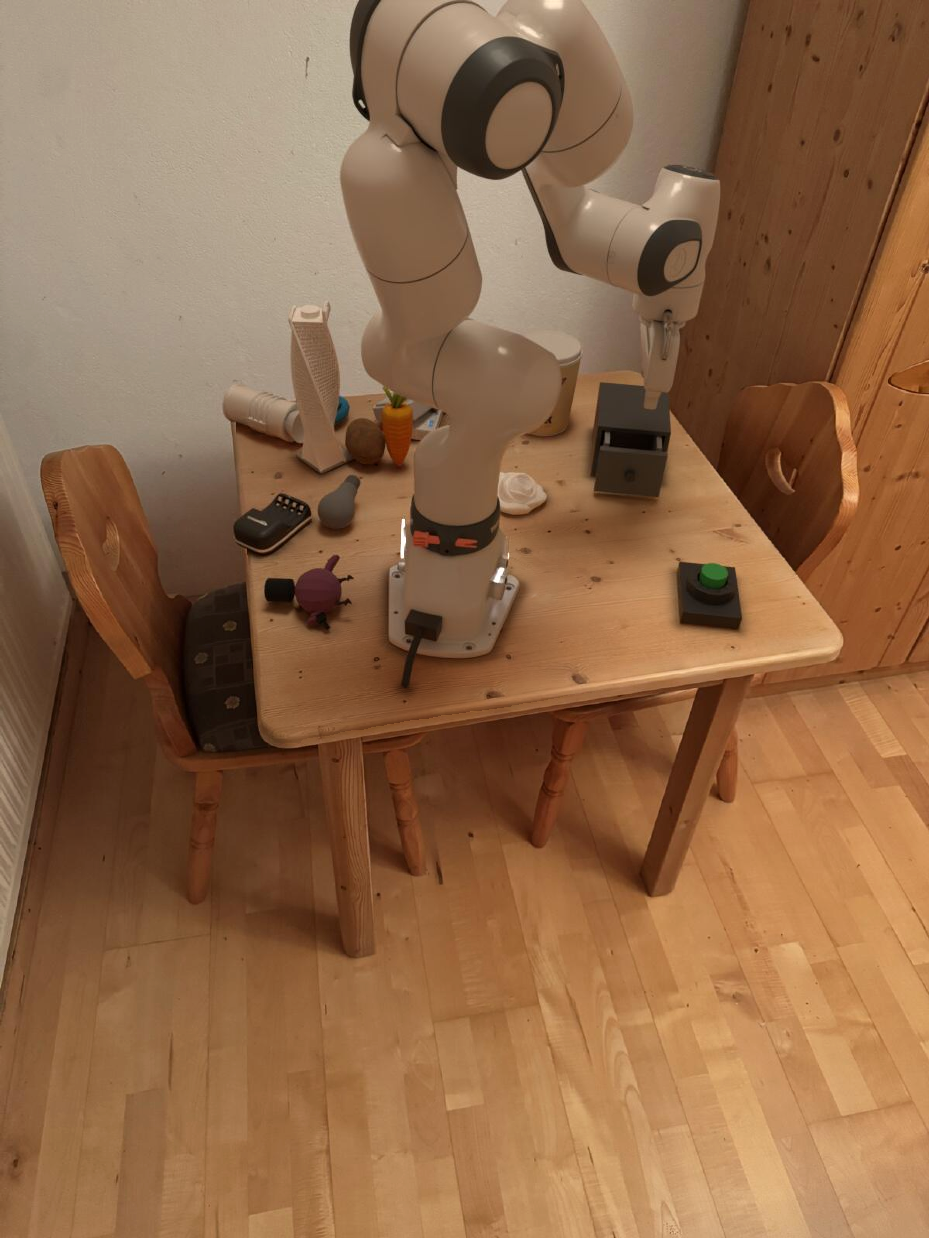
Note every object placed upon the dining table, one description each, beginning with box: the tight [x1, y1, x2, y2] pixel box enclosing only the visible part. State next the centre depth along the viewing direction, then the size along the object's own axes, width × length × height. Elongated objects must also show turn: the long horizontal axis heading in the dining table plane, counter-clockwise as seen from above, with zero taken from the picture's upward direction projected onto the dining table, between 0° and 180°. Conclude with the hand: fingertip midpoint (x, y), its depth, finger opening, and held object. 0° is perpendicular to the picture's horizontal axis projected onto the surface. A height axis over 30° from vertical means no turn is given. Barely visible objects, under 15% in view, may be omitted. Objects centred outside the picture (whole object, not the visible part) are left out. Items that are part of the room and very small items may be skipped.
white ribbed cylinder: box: [221, 383, 305, 444], centre depth 154 cm, size 7×7×15 cm
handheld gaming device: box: [371, 391, 433, 423], centre depth 158 cm, size 9×15×4 cm, turn 154°
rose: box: [498, 471, 548, 516], centre depth 141 cm, size 10×4×10 cm
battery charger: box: [232, 492, 313, 556], centre depth 134 cm, size 7×4×11 cm
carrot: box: [381, 385, 413, 467], centre depth 144 cm, size 5×5×15 cm
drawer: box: [593, 430, 668, 498], centre depth 145 cm, size 15×10×8 cm
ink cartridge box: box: [381, 408, 445, 441], centre depth 158 cm, size 2×11×10 cm
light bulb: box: [317, 474, 362, 530], centre depth 136 cm, size 6×6×10 cm
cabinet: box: [590, 381, 672, 477], centre depth 150 cm, size 15×12×10 cm
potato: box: [344, 417, 386, 465], centre depth 148 cm, size 7×10×6 cm
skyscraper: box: [287, 299, 356, 475], centre depth 140 cm, size 8×8×28 cm
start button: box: [699, 562, 728, 589], centre depth 123 cm, size 4×4×2 cm
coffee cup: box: [521, 329, 584, 437], centre depth 156 cm, size 12×12×15 cm
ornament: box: [334, 395, 351, 427], centre depth 158 cm, size 8×5×10 cm
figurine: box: [263, 554, 355, 631], centre depth 121 cm, size 8×8×12 cm
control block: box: [676, 561, 743, 631], centre depth 125 cm, size 11×8×4 cm
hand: (648, 391), depth 129 cm, fingers open, 8 cm apart
